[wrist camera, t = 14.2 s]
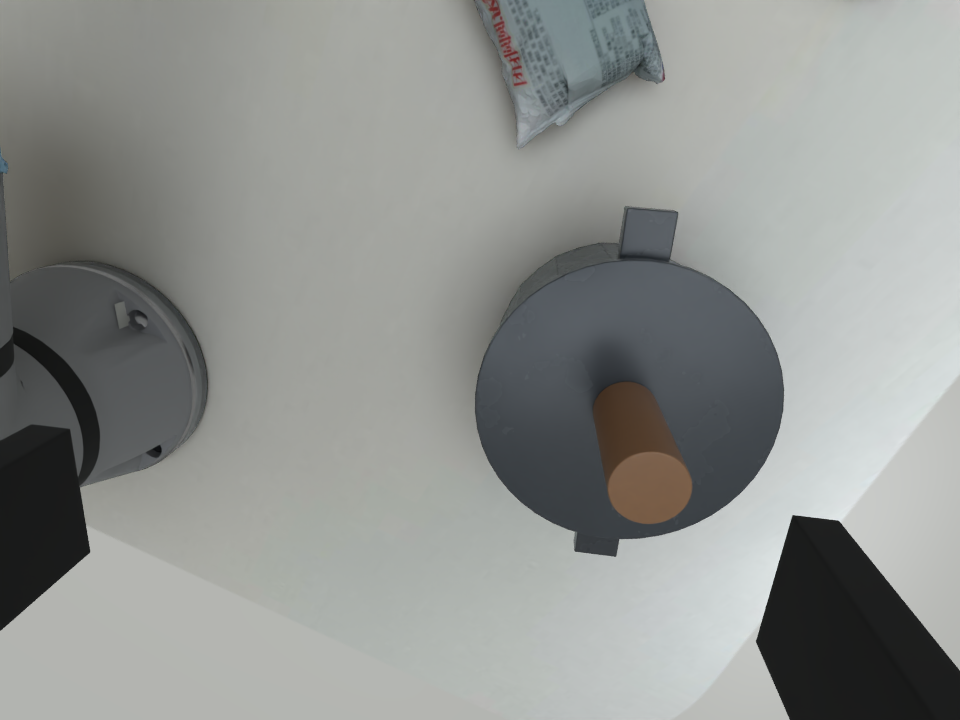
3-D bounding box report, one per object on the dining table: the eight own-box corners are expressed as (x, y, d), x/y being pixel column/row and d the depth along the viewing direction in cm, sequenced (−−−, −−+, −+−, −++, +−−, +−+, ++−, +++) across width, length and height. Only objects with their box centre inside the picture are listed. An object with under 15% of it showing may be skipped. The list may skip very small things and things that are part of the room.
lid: (467, 509, 34) (443, 619, 26) (489, 241, 29) (468, 275, 21) (739, 542, 33) (803, 669, 25) (809, 271, 28) (918, 318, 20)
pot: (487, 469, 43) (473, 546, 34) (513, 188, 37) (503, 198, 28) (686, 492, 42) (722, 578, 33) (748, 208, 36) (812, 224, 27)
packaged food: (518, 149, 36) (516, 148, 31) (434, -62, 33) (418, -99, 28) (661, 83, 34) (681, 71, 29) (586, -147, 31) (595, -201, 26)
